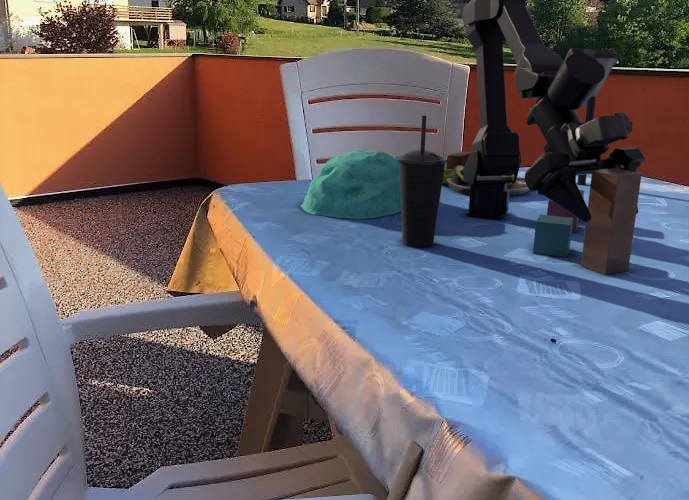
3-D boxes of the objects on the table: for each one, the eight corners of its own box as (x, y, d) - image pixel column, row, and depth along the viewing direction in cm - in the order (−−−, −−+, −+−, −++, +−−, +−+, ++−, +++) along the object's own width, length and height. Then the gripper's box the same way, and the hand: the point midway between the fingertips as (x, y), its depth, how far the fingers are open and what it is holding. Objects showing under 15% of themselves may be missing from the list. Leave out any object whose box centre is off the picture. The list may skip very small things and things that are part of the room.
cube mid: (545, 229, 123) (548, 201, 121) (548, 223, 127) (551, 195, 126) (575, 232, 121) (578, 204, 119) (577, 226, 125) (581, 198, 124)
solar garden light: (611, 182, 167) (628, 50, 159) (607, 191, 156) (624, 50, 148) (557, 177, 172) (571, 49, 163) (550, 185, 161) (564, 48, 153)
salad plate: (514, 180, 167) (516, 160, 165) (552, 195, 150) (554, 174, 149) (437, 182, 162) (438, 162, 161) (467, 198, 146) (468, 176, 144)
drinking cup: (410, 252, 107) (416, 119, 102) (384, 240, 114) (389, 114, 108) (451, 246, 111) (460, 117, 105) (424, 235, 117) (430, 112, 112)
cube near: (532, 253, 108) (535, 221, 107) (537, 245, 113) (540, 214, 111) (566, 257, 106) (570, 225, 105) (569, 248, 111) (573, 217, 110)
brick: (460, 175, 172) (461, 156, 170) (445, 173, 174) (446, 154, 172) (476, 169, 180) (477, 151, 179) (461, 168, 182) (462, 149, 181)
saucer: (429, 183, 159) (430, 174, 159) (431, 177, 168) (431, 168, 167) (468, 185, 158) (469, 176, 158) (468, 179, 166) (469, 170, 166)
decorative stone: (432, 195, 148) (435, 148, 145) (379, 223, 124) (381, 166, 121) (344, 185, 157) (345, 140, 154) (278, 209, 133) (278, 156, 130)
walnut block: (605, 275, 98) (618, 175, 94) (580, 266, 102) (591, 170, 98) (628, 270, 101) (642, 173, 97) (603, 262, 104) (615, 168, 100)
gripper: (546, 93, 95) (601, 189, 88) (643, 92, 103) (698, 179, 97) (503, 145, 104) (549, 235, 97) (595, 139, 112) (643, 222, 106)
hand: (612, 217), depth 99 cm, fingers open, 9 cm apart
